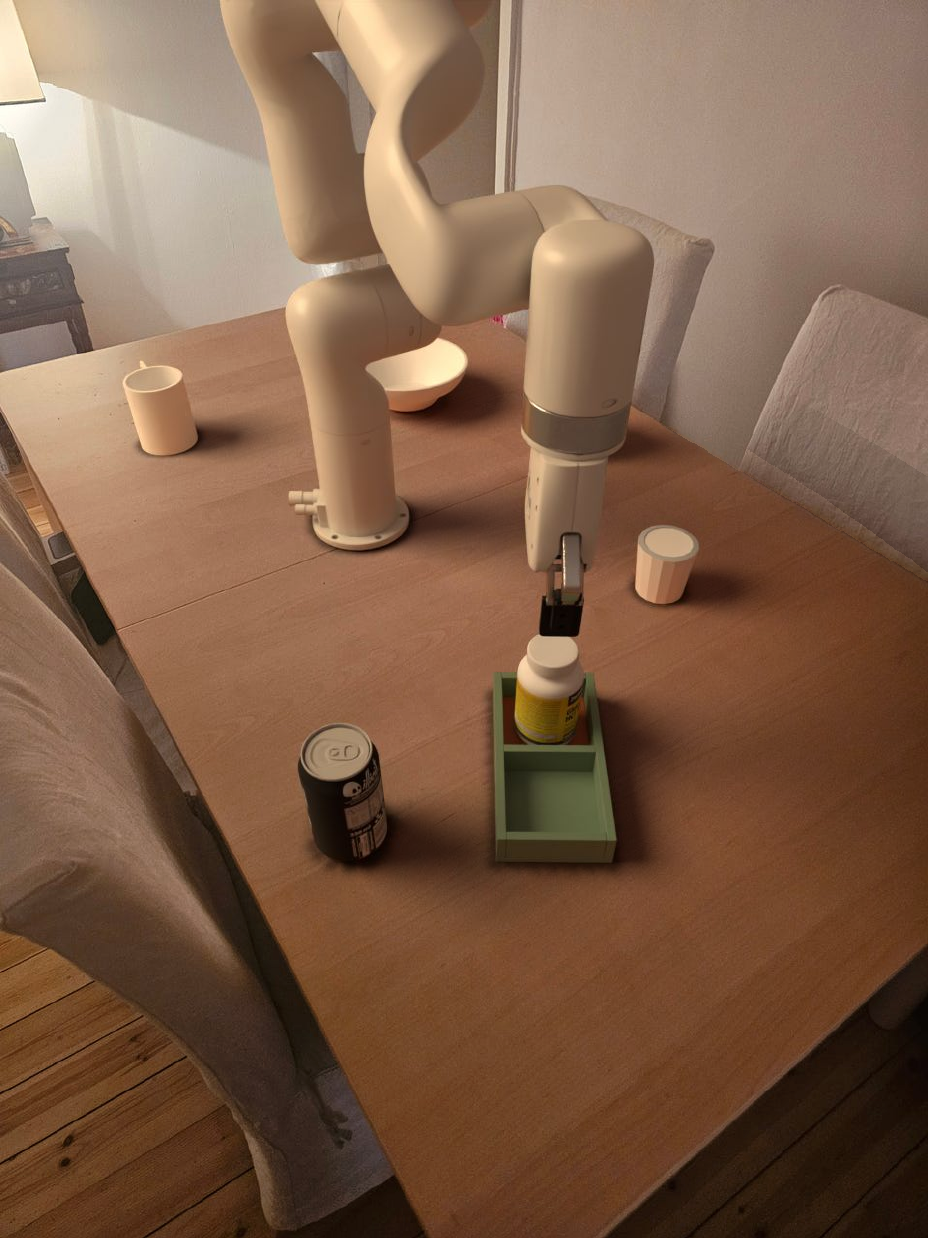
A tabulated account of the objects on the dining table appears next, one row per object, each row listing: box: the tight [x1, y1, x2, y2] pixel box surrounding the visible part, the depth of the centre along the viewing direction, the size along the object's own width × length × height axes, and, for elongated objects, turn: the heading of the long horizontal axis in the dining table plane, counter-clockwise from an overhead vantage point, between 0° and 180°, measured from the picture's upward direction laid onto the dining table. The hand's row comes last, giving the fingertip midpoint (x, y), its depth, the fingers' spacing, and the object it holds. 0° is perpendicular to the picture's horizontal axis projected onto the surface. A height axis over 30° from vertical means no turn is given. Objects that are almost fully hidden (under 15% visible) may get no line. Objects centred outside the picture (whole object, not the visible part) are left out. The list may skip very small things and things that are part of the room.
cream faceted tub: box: [634, 524, 700, 605], centre depth 96 cm, size 7×7×7 cm
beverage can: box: [297, 722, 388, 863], centre depth 70 cm, size 7×7×12 cm
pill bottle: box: [514, 633, 585, 745], centre depth 78 cm, size 6×6×11 cm
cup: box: [121, 360, 199, 456], centre depth 121 cm, size 8×12×10 cm
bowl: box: [366, 337, 469, 413], centre depth 130 cm, size 20×20×7 cm
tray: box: [492, 671, 618, 864], centre depth 77 cm, size 10×19×4 cm, turn 179°
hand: (554, 593), depth 70 cm, fingers open, 9 cm apart
